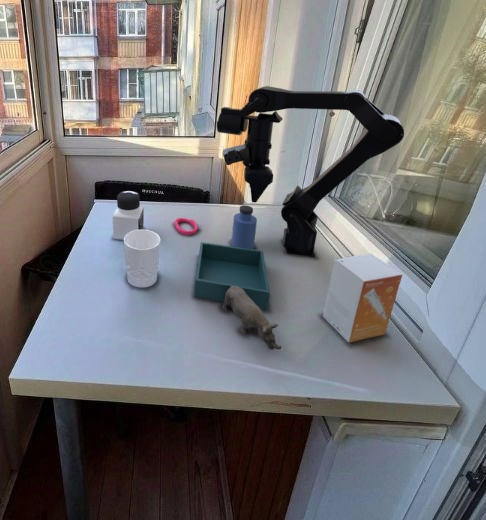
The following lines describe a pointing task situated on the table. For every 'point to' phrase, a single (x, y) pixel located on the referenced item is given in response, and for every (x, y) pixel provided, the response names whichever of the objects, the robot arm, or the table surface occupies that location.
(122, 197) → the medicine bottle
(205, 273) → the tray
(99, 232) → the table surface
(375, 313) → the small box
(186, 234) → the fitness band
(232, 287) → the rhino figurine
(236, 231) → the bottle
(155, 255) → the white cup
